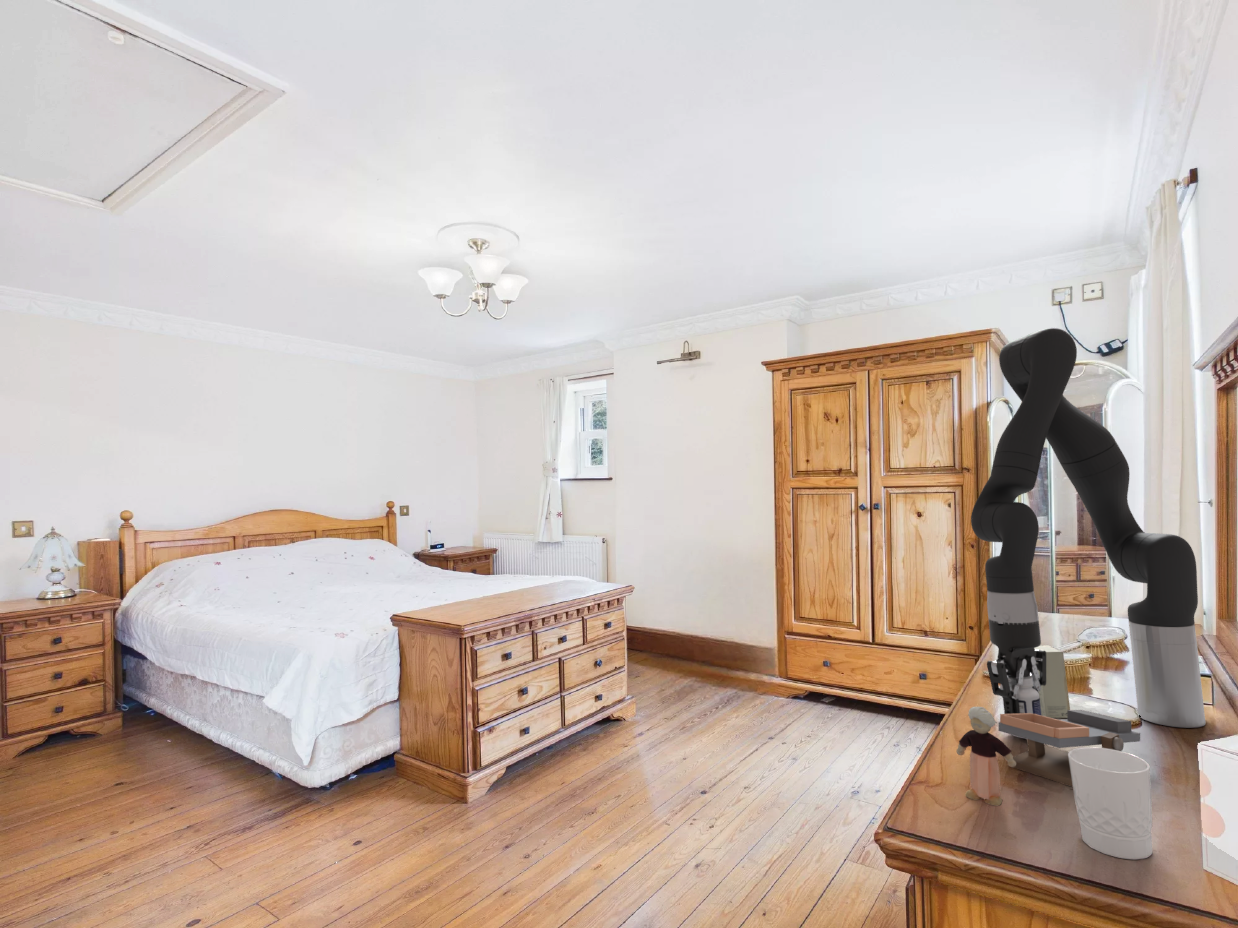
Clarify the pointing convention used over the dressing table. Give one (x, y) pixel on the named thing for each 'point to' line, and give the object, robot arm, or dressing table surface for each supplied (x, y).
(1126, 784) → the white cup
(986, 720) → the grandmother figurine
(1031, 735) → the balance beam
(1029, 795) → the dressing table surface
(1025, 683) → the pill bottle
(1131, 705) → the dressing table surface
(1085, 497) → the robot arm
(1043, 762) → the balance stand
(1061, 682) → the skincare box
